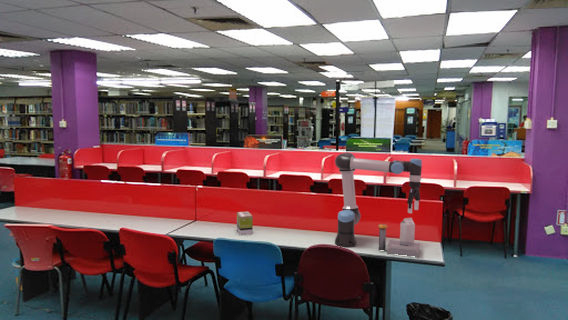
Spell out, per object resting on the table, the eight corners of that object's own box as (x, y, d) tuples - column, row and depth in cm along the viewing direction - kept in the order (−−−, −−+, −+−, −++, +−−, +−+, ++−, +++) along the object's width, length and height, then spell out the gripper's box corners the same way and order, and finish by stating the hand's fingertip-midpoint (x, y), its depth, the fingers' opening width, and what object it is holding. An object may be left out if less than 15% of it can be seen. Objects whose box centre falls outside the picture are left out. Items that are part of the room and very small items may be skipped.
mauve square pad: (386, 254, 257) (387, 245, 256) (389, 245, 275) (390, 237, 275) (418, 258, 249) (419, 249, 249) (419, 249, 268) (420, 240, 268)
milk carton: (399, 242, 282) (400, 217, 280) (407, 242, 284) (408, 216, 282) (405, 245, 275) (407, 219, 273) (414, 244, 278) (415, 218, 276)
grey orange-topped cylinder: (376, 251, 263) (377, 225, 261) (378, 248, 268) (378, 223, 267) (385, 252, 261) (386, 226, 259) (386, 249, 266) (387, 224, 265)
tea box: (236, 230, 310) (236, 211, 309) (248, 229, 313) (248, 211, 312) (240, 235, 296) (240, 216, 295) (252, 234, 299) (253, 215, 298)
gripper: (414, 183, 254) (412, 215, 257) (425, 179, 275) (423, 209, 277) (403, 182, 259) (401, 213, 261) (415, 178, 279) (413, 207, 281)
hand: (413, 211), depth 269 cm, fingers open, 13 cm apart
